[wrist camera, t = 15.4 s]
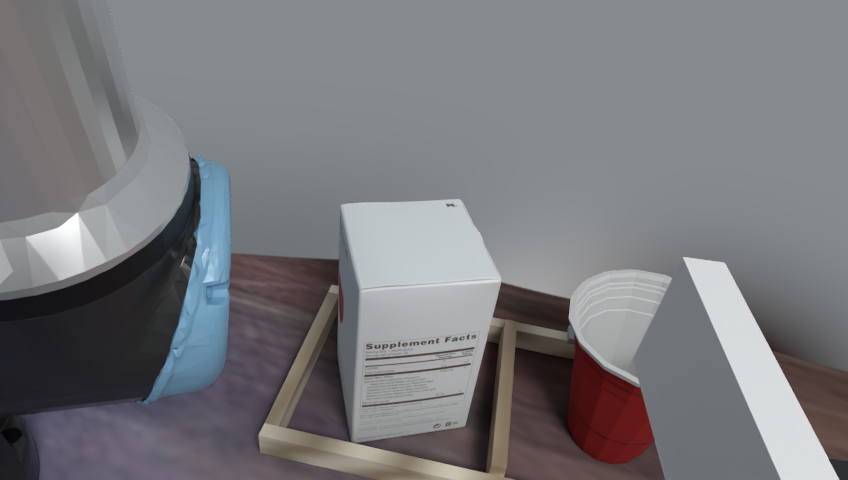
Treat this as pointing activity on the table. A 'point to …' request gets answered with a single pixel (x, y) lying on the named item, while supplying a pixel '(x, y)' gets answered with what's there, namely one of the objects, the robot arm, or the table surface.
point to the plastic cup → (611, 362)
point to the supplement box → (411, 315)
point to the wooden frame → (393, 471)
